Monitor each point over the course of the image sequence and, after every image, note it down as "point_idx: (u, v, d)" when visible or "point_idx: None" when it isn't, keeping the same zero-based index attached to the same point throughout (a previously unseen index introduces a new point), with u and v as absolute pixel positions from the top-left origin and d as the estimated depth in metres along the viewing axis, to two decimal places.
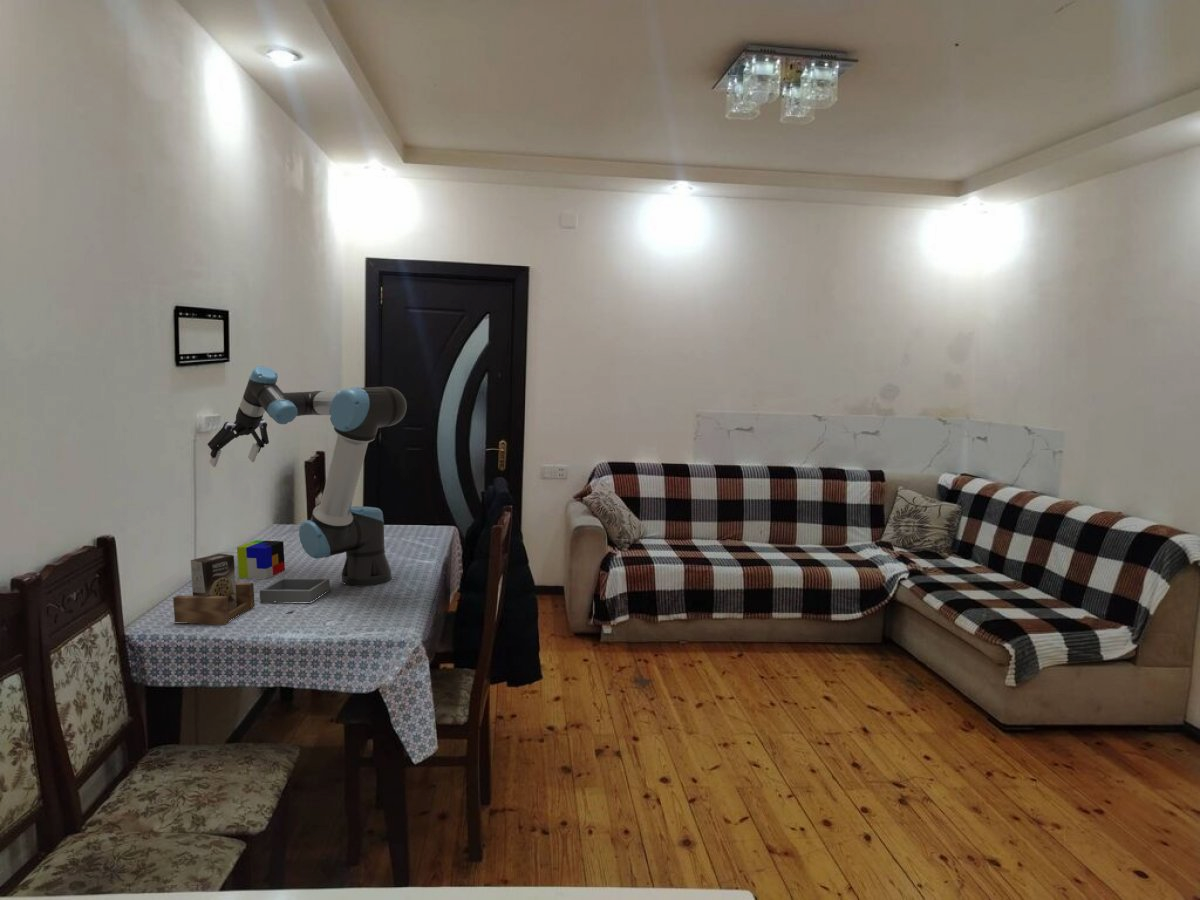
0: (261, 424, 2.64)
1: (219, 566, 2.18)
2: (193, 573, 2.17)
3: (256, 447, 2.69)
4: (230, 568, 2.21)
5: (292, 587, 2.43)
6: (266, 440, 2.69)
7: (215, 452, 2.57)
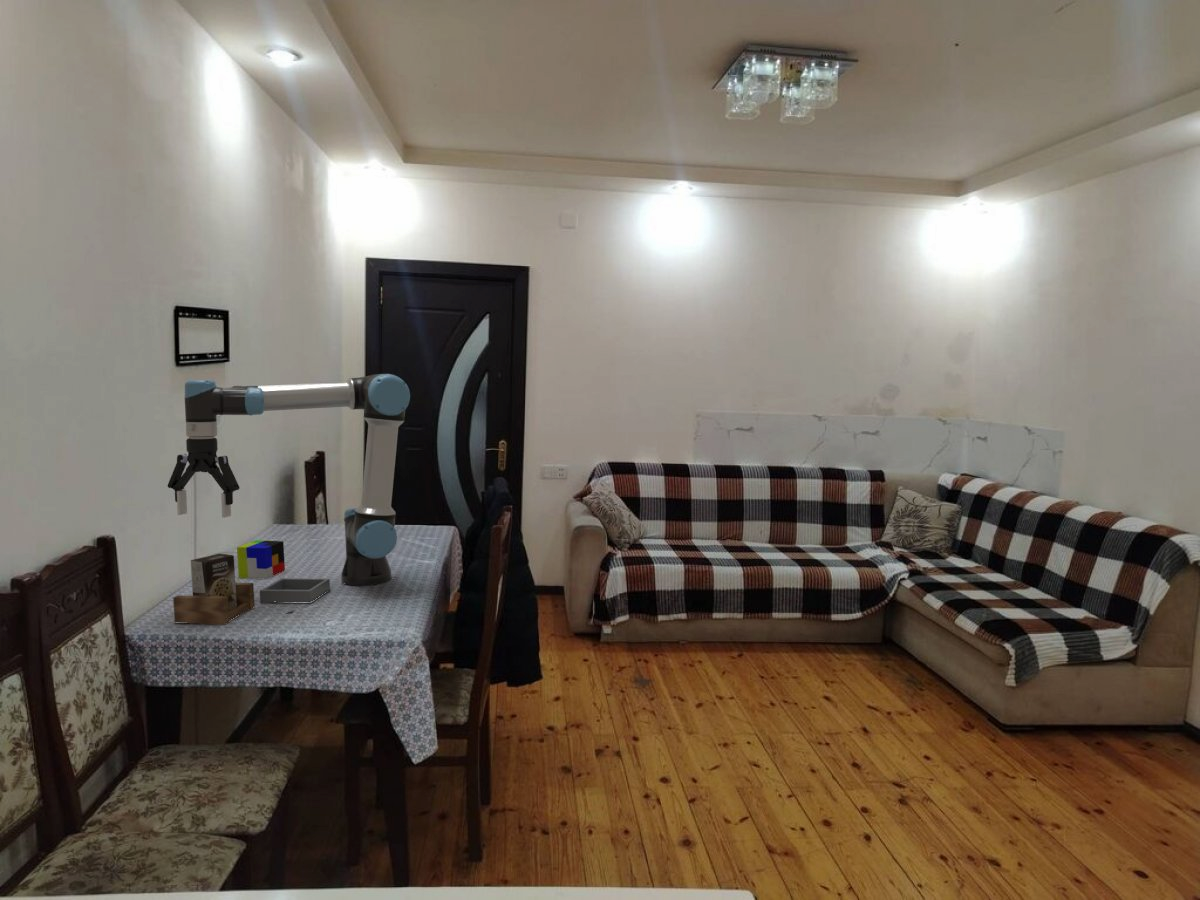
0: None
1: (219, 566, 2.18)
2: (193, 573, 2.17)
3: (184, 491, 2.22)
4: (230, 568, 2.21)
5: (292, 587, 2.43)
6: None
7: None
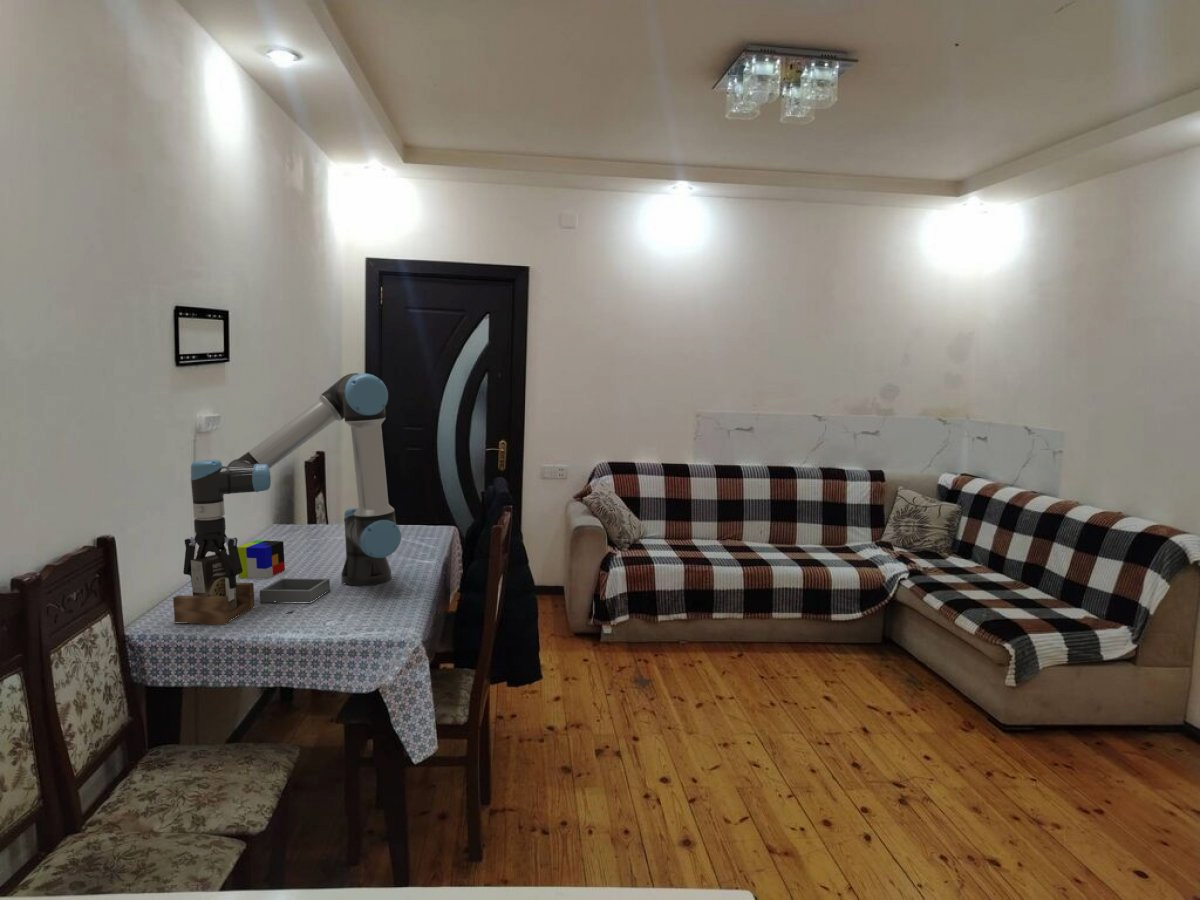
0: None
1: (219, 566, 2.18)
2: (193, 573, 2.17)
3: None
4: None
5: (292, 587, 2.43)
6: None
7: None
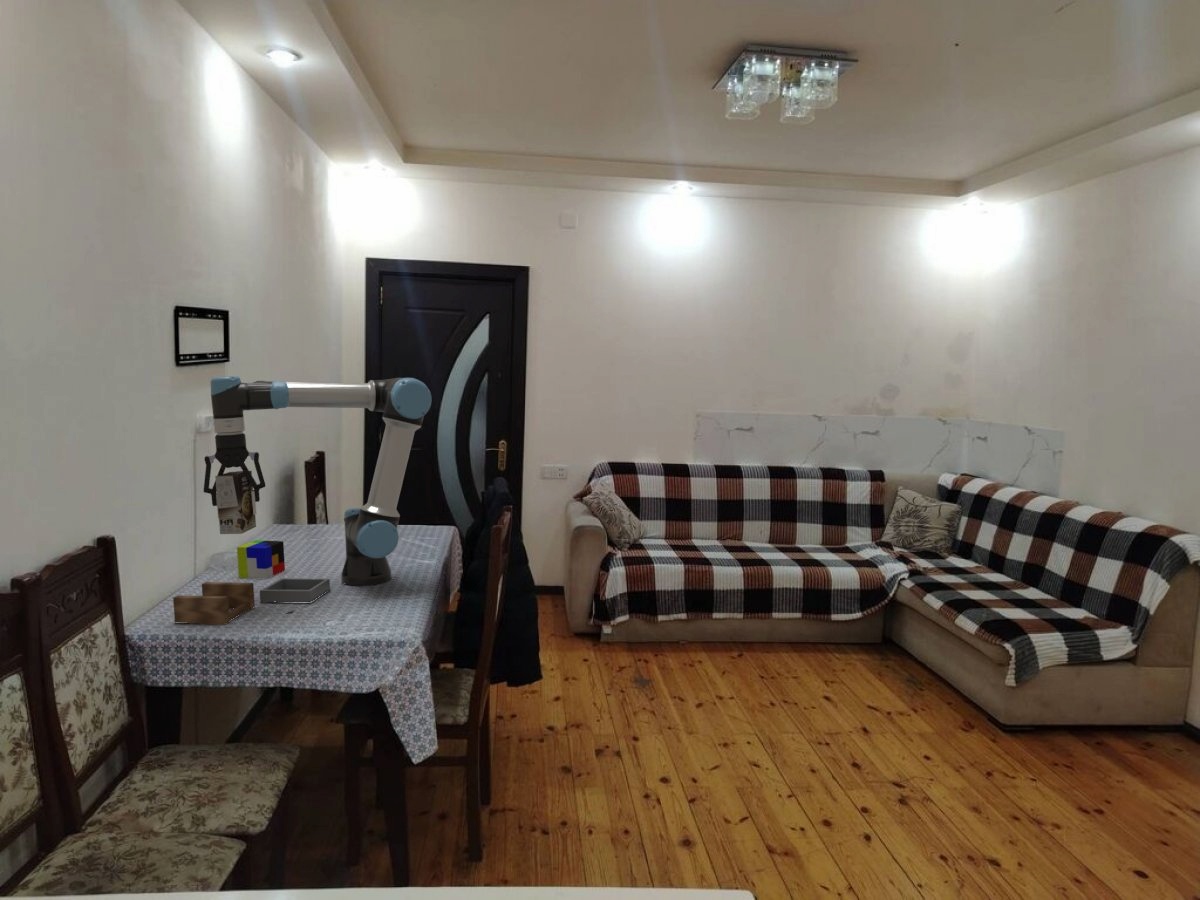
0: None
1: (245, 480, 2.22)
2: (220, 489, 2.18)
3: None
4: (250, 483, 2.25)
5: (292, 587, 2.43)
6: None
7: None
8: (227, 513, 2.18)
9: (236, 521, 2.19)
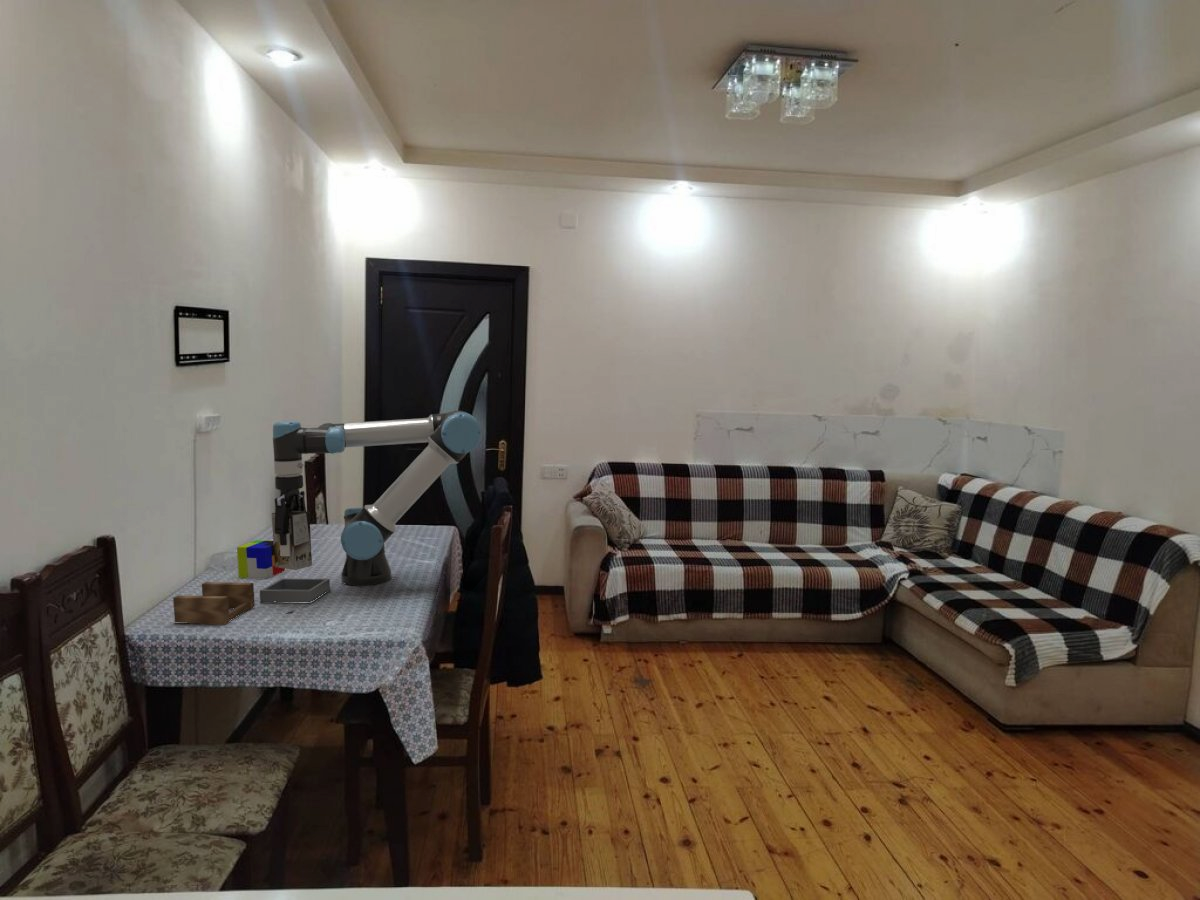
0: None
1: None
2: (296, 527, 2.31)
3: None
4: None
5: (292, 587, 2.43)
6: None
7: None
8: (301, 548, 2.33)
9: (308, 554, 2.35)
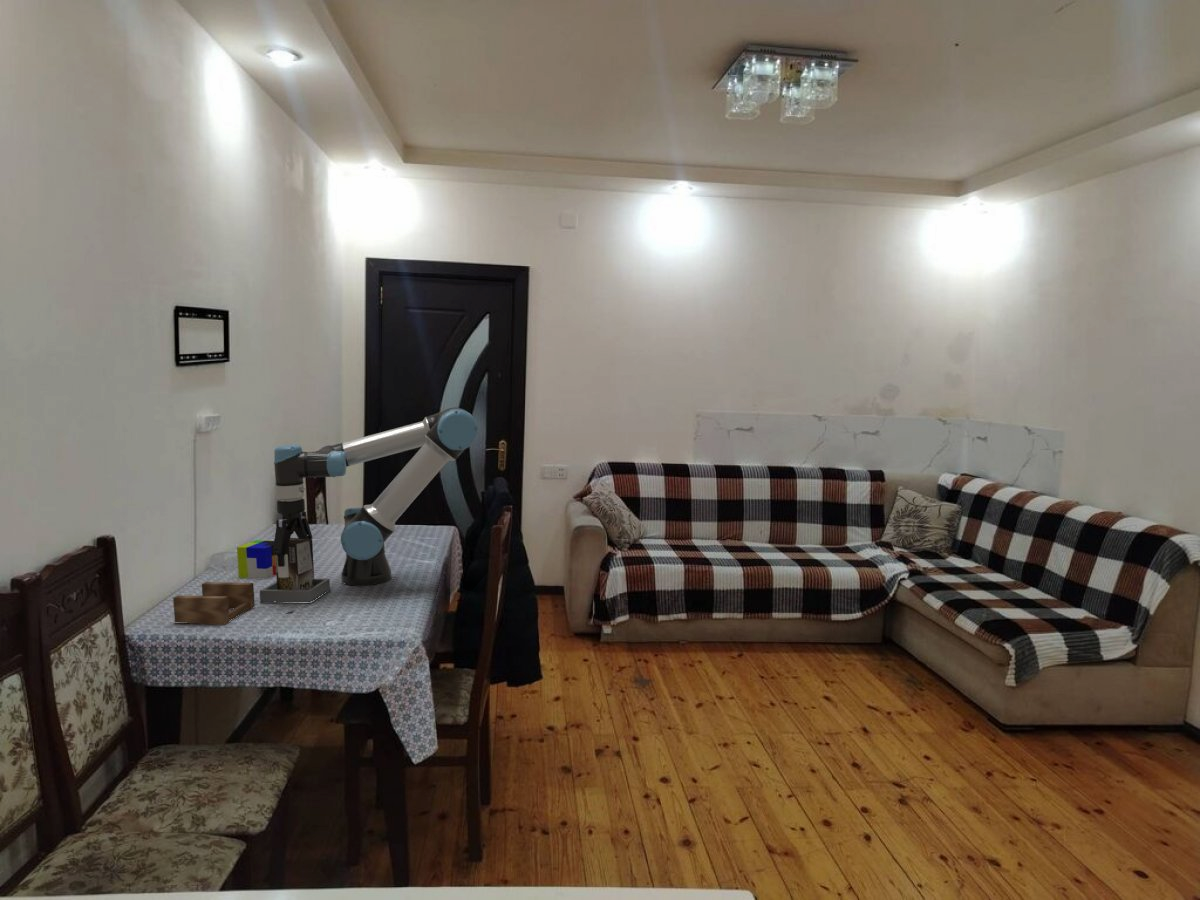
0: None
1: None
2: (300, 555, 2.33)
3: None
4: None
5: None
6: None
7: None
8: (305, 576, 2.34)
9: (311, 582, 2.37)
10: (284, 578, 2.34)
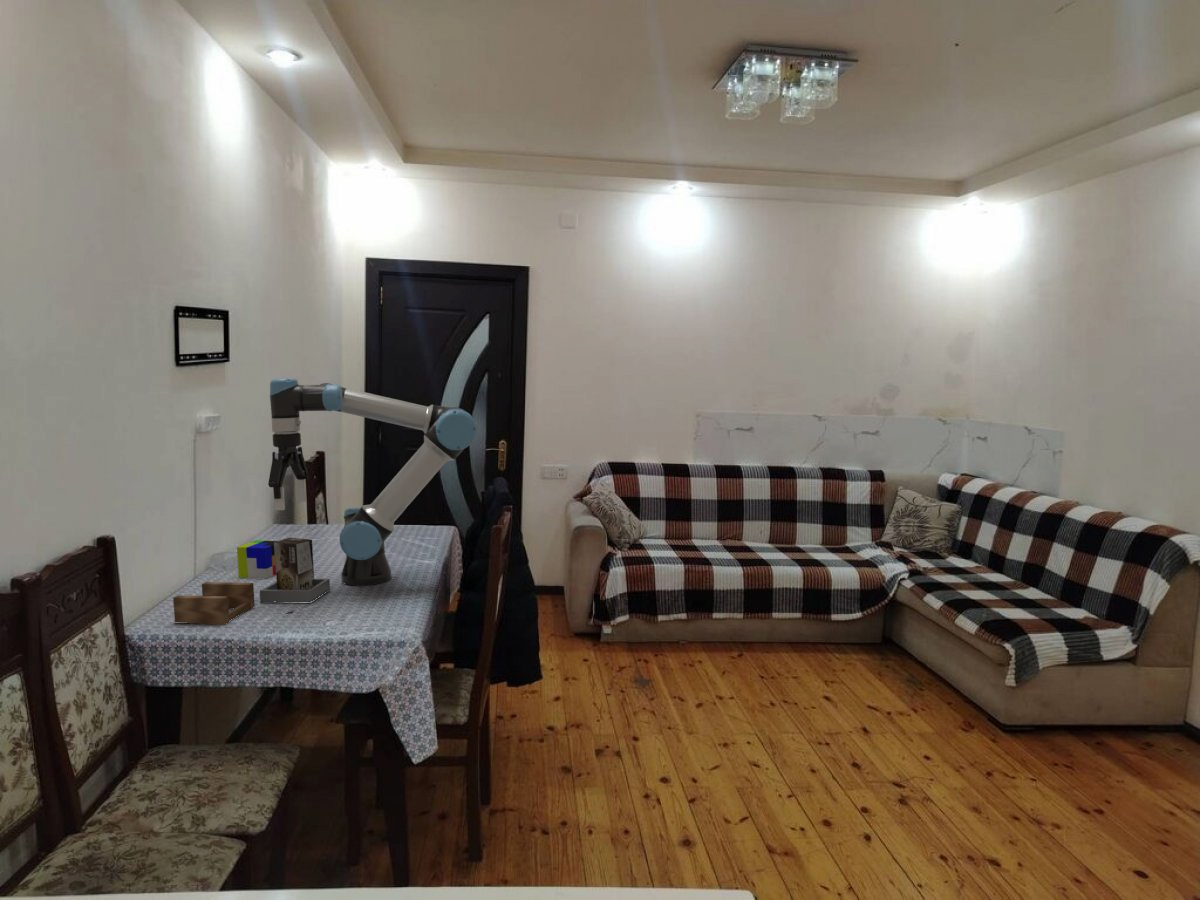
0: None
1: None
2: (300, 555, 2.33)
3: None
4: None
5: None
6: None
7: None
8: (305, 576, 2.34)
9: (311, 582, 2.37)
10: (284, 578, 2.34)
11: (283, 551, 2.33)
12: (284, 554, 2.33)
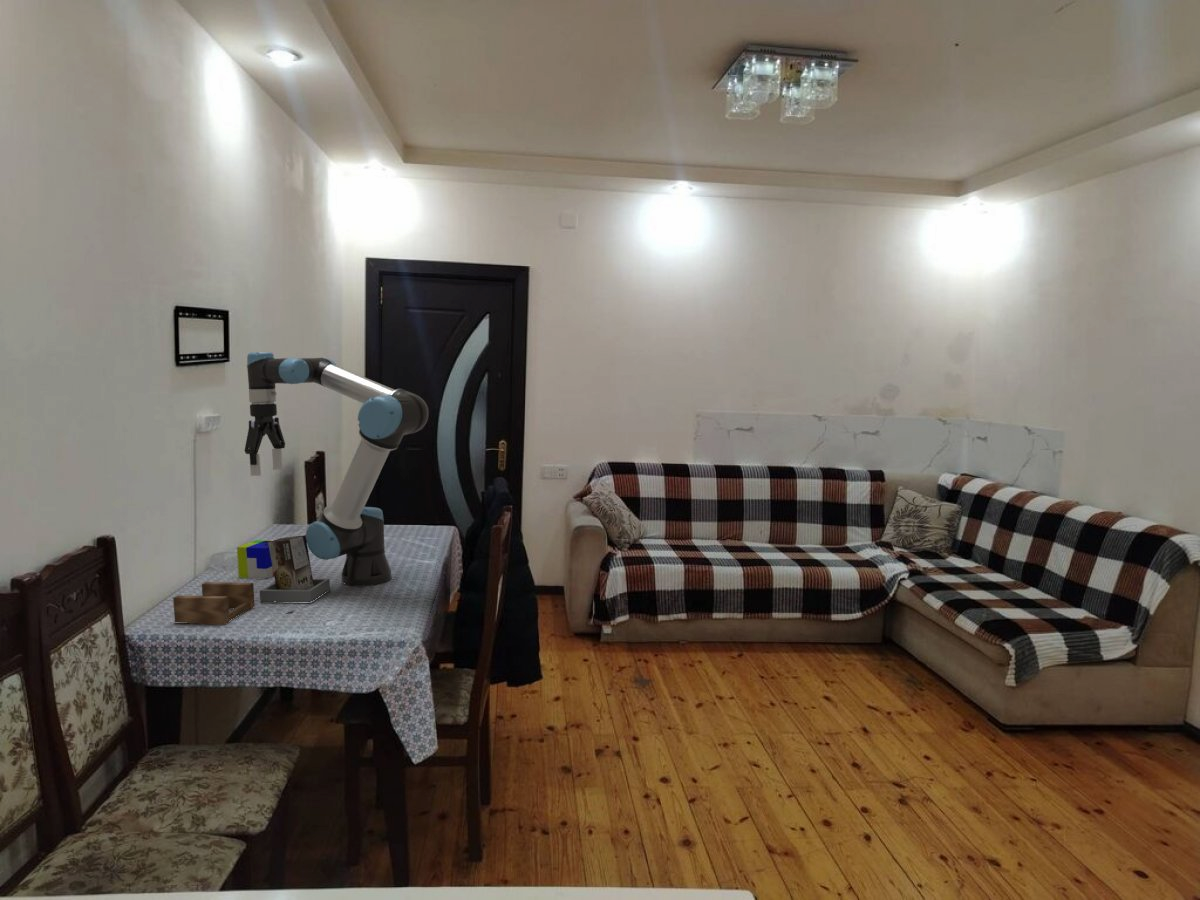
0: None
1: None
2: (294, 551, 2.33)
3: None
4: None
5: None
6: None
7: None
8: (302, 572, 2.35)
9: (309, 578, 2.37)
10: (282, 576, 2.35)
11: (277, 549, 2.34)
12: (279, 551, 2.34)
